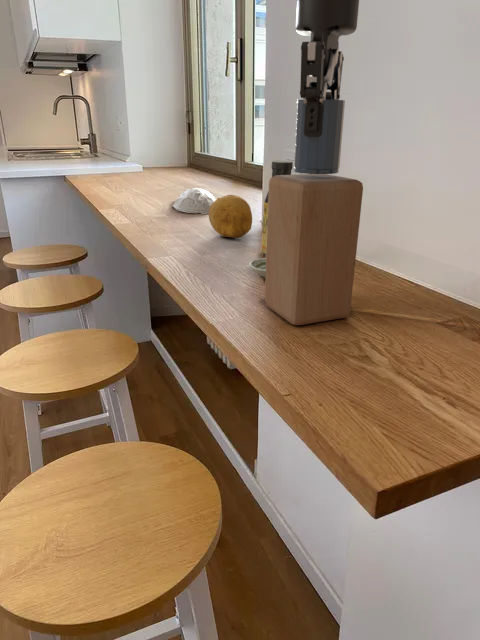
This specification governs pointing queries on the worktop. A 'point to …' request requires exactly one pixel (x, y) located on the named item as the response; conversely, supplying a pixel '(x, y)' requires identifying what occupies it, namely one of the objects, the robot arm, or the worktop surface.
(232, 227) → the potato
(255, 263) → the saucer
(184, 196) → the white lumpy mound
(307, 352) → the worktop surface
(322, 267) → the block
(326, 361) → the worktop surface
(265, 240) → the sauce bottle
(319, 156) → the cup
